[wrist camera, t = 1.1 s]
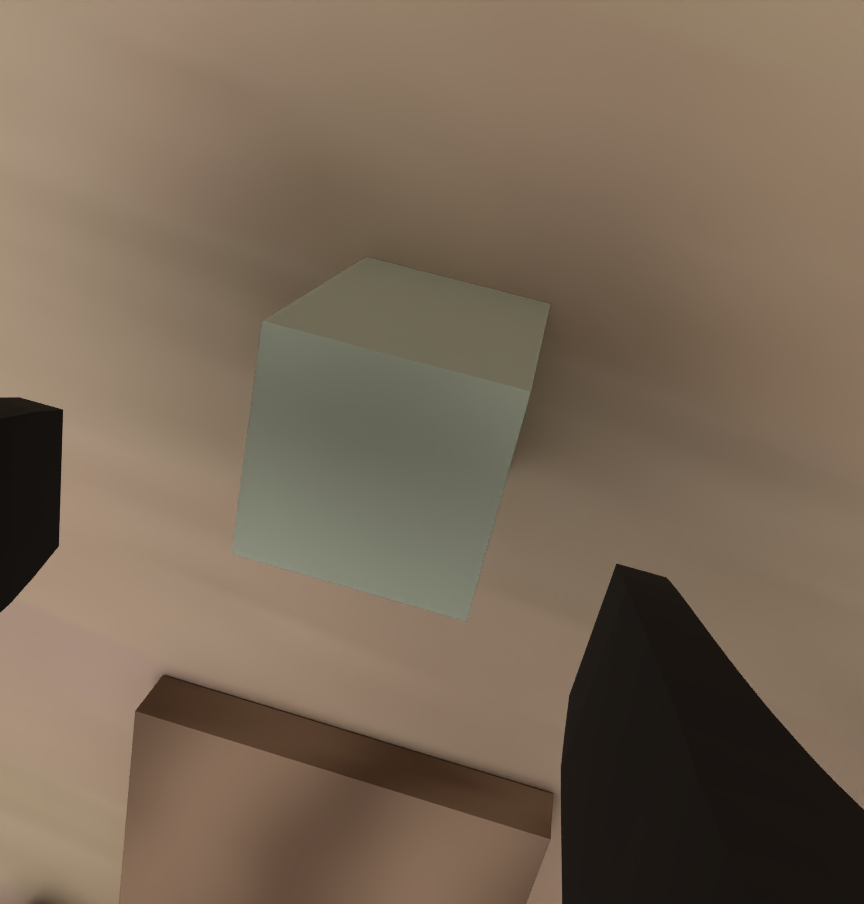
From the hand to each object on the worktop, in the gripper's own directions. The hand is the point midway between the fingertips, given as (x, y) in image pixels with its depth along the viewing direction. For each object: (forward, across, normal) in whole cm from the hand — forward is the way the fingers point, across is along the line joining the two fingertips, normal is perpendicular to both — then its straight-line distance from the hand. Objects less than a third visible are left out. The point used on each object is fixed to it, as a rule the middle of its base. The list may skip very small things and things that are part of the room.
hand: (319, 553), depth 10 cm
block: (+8, 0, 0) cm, 8 cm away
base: (+8, 0, +16) cm, 18 cm away
